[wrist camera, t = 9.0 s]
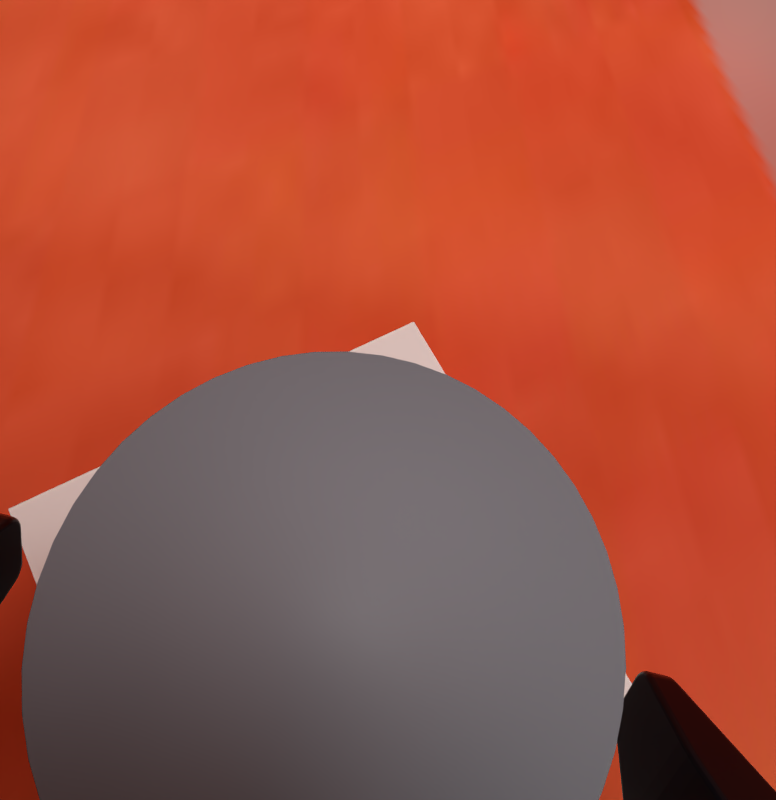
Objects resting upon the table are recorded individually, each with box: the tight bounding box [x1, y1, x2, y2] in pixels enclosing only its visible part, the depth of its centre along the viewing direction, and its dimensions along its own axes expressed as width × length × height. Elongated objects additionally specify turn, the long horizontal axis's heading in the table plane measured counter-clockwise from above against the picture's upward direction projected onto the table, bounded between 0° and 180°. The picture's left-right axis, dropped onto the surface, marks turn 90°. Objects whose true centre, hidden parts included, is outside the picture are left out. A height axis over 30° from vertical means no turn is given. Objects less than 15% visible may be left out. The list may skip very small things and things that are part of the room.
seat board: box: [8, 322, 632, 697], centre depth 16 cm, size 13×13×2 cm
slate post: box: [22, 352, 626, 800], centre depth 11 cm, size 5×5×12 cm
